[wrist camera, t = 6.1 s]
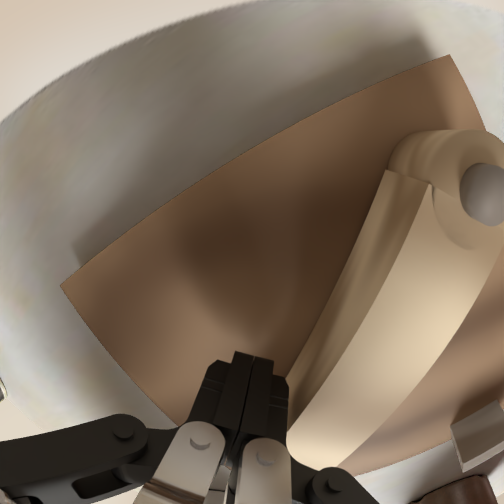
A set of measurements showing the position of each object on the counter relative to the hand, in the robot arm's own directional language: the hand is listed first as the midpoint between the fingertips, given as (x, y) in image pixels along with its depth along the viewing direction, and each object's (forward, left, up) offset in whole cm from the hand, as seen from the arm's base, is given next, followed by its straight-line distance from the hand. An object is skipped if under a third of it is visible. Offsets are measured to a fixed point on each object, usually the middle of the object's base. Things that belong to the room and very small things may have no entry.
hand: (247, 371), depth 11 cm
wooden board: (-4, -2, -4) cm, 6 cm away
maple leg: (-1, -4, -1) cm, 4 cm away
